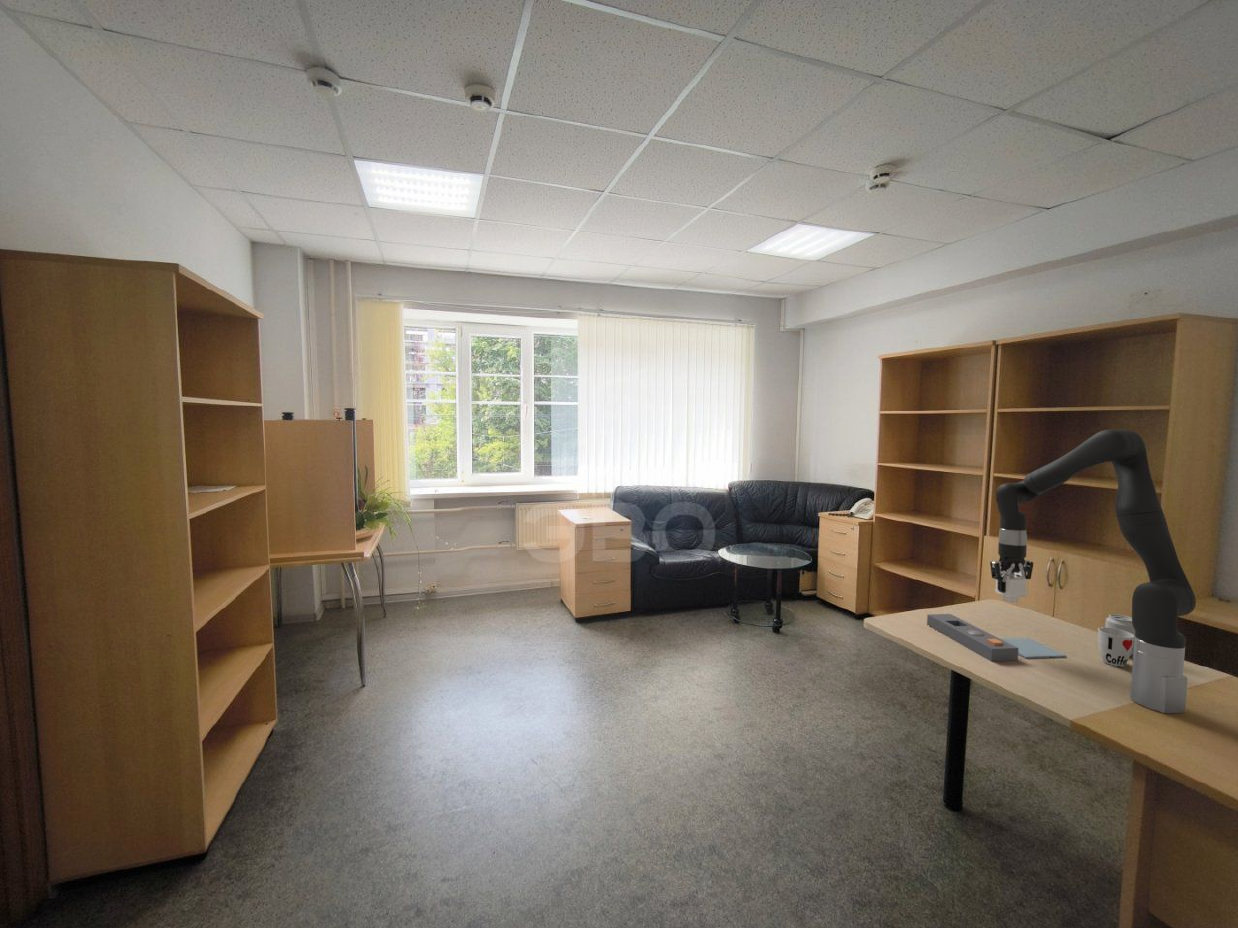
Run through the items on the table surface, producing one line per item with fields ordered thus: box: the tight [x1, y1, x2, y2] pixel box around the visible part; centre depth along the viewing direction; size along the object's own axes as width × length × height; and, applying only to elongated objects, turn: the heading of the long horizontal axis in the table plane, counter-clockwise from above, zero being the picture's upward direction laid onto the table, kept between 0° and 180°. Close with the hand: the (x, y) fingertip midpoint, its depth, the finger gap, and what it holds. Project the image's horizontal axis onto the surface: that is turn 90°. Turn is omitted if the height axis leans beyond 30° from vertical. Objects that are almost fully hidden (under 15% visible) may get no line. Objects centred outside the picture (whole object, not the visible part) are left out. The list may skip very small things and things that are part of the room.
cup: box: [1097, 626, 1134, 668], centre depth 160 cm, size 8×8×10 cm
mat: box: [999, 637, 1067, 659], centre depth 171 cm, size 14×14×1 cm
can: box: [1104, 613, 1135, 657], centre depth 168 cm, size 8×8×12 cm
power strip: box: [926, 613, 1019, 662], centre depth 177 cm, size 30×9×5 cm, turn 4°
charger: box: [995, 572, 1028, 603], centre depth 172 cm, size 6×6×10 cm
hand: (1010, 591), depth 172 cm, fingers closed on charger, 5 cm apart
